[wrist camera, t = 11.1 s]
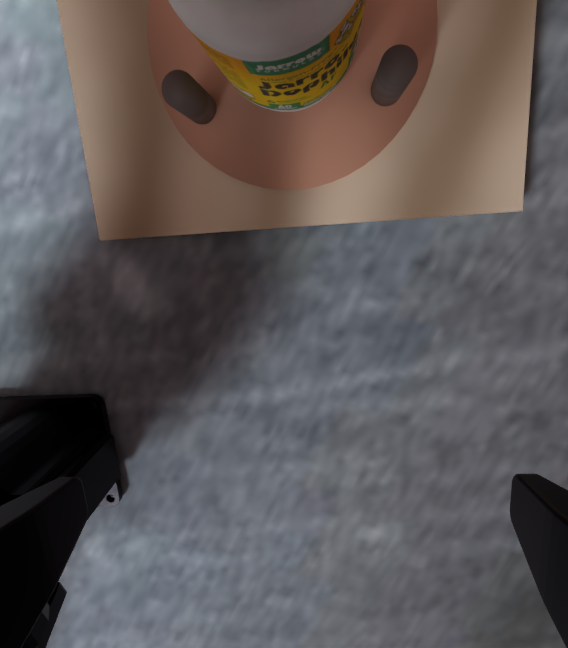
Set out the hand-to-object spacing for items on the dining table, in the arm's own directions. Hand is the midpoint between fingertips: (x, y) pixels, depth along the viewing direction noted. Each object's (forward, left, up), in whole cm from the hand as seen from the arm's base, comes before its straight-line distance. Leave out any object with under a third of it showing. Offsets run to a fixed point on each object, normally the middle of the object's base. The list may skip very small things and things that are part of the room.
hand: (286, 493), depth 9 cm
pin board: (0, +12, -12) cm, 17 cm away
